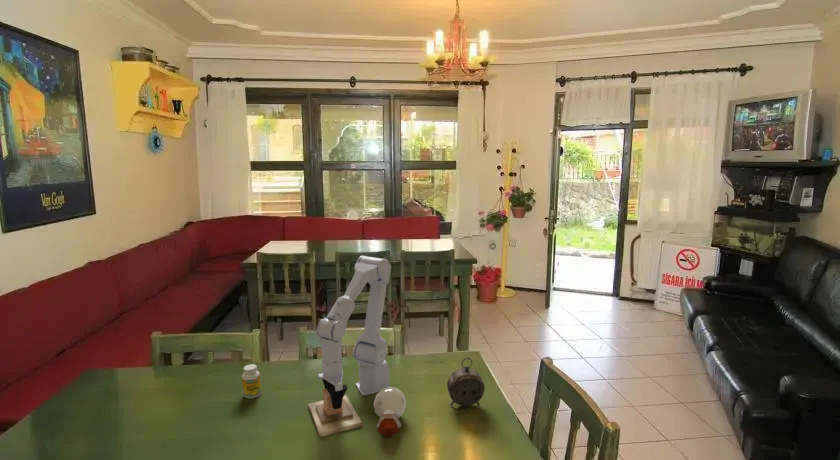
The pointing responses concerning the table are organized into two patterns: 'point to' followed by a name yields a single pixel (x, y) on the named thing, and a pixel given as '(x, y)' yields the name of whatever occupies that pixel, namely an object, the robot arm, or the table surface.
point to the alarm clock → (465, 386)
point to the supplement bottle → (251, 381)
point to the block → (329, 404)
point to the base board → (334, 418)
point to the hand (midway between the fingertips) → (333, 401)
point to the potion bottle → (389, 410)
